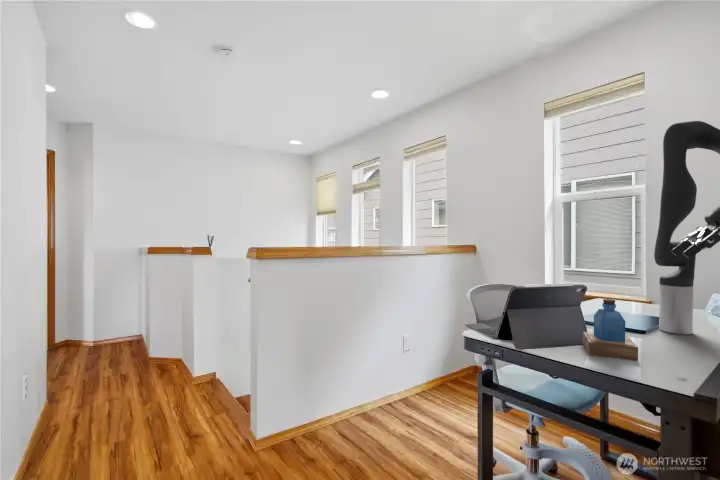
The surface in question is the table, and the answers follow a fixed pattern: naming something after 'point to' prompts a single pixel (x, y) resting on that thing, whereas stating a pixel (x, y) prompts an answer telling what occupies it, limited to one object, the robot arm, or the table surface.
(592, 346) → the block
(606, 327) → the perfume bottle
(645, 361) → the table surface
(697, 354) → the table surface
